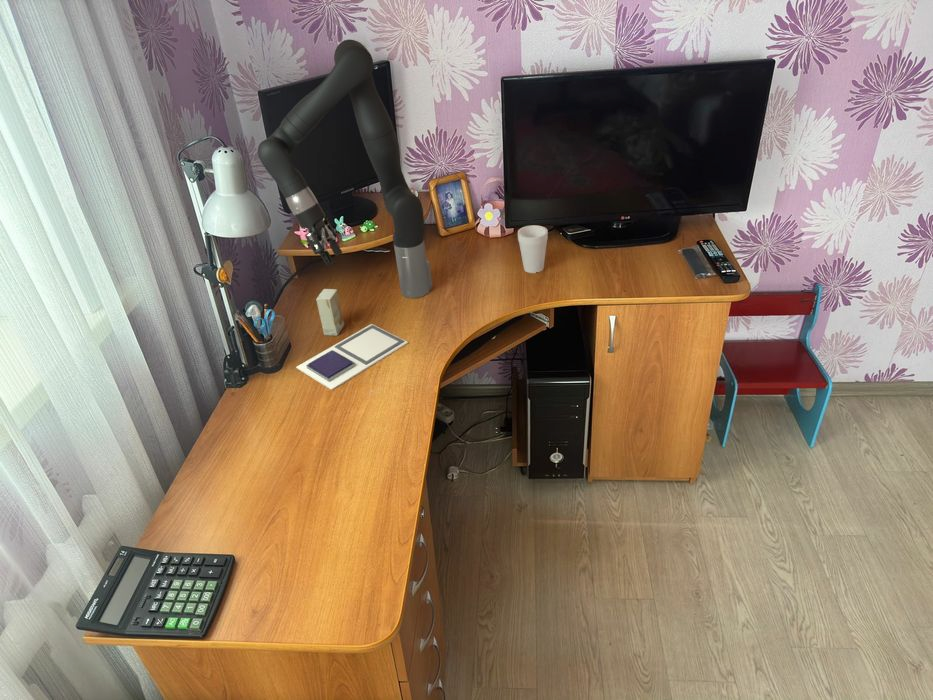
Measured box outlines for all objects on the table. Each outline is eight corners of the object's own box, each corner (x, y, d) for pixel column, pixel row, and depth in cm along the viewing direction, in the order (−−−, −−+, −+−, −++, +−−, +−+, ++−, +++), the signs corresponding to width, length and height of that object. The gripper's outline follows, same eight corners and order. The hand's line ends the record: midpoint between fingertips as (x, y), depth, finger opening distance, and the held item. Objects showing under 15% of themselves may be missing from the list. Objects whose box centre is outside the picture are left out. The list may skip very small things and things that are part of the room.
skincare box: (337, 336, 203) (329, 300, 196) (323, 335, 204) (315, 299, 197) (345, 324, 208) (337, 288, 201) (331, 323, 209) (323, 288, 202)
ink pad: (333, 353, 195) (332, 348, 194) (355, 365, 189) (354, 361, 188) (306, 368, 190) (305, 363, 189) (329, 381, 184) (328, 377, 183)
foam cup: (520, 261, 231) (518, 225, 224) (548, 261, 230) (547, 224, 223) (519, 275, 224) (517, 238, 216) (548, 275, 222) (547, 237, 215)
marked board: (371, 324, 206) (371, 322, 206) (408, 343, 197) (407, 341, 196) (296, 368, 191) (295, 366, 191) (331, 390, 182) (331, 388, 181)
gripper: (308, 208, 184) (339, 262, 190) (324, 195, 197) (352, 246, 202) (285, 220, 186) (316, 273, 192) (302, 206, 199) (331, 256, 204)
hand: (334, 259), depth 197 cm, fingers open, 8 cm apart
